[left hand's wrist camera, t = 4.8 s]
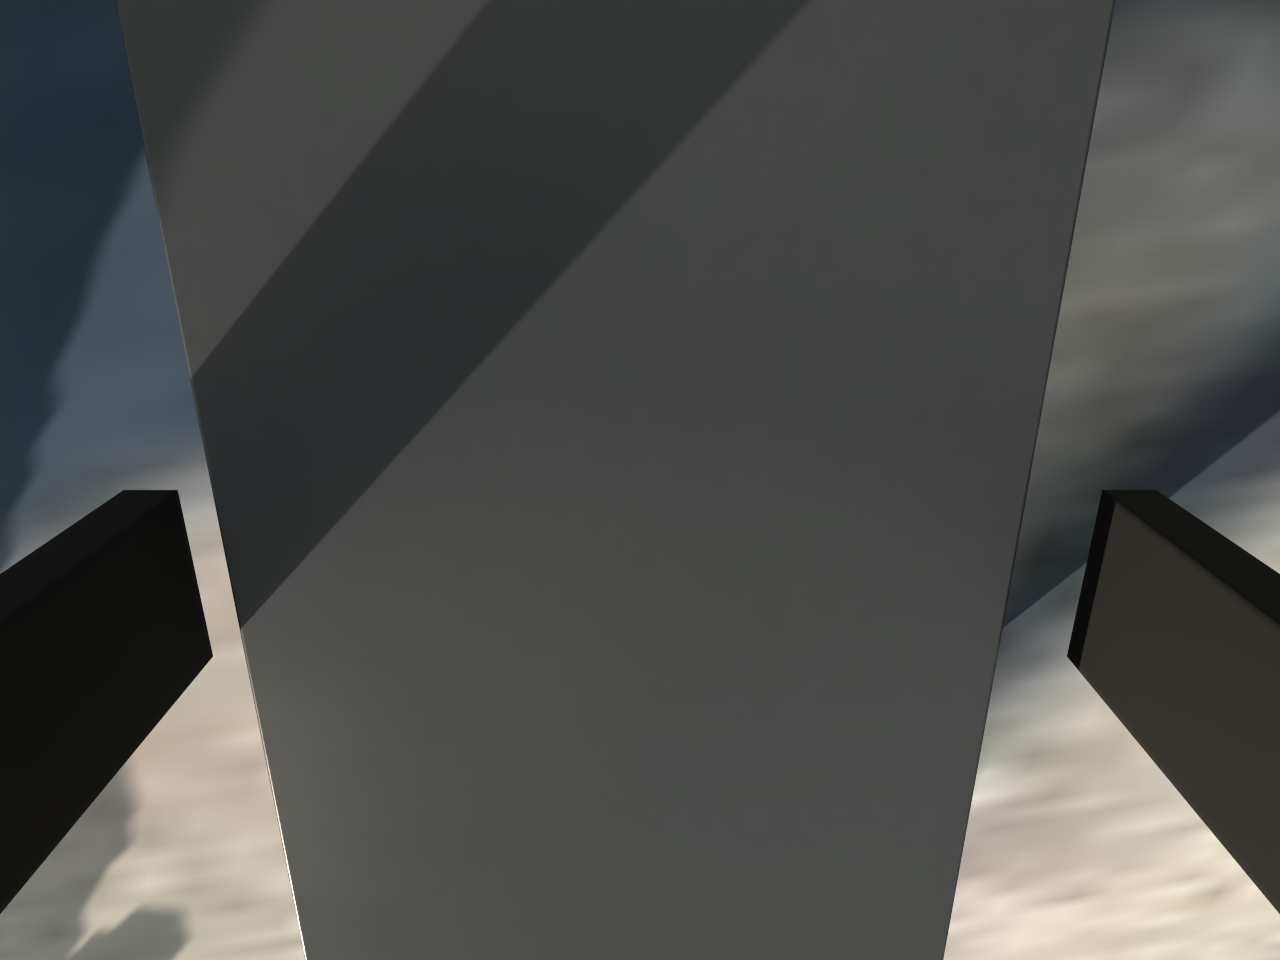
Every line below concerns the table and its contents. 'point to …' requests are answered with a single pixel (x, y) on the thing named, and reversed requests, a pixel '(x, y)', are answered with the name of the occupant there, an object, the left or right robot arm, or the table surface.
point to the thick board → (619, 444)
